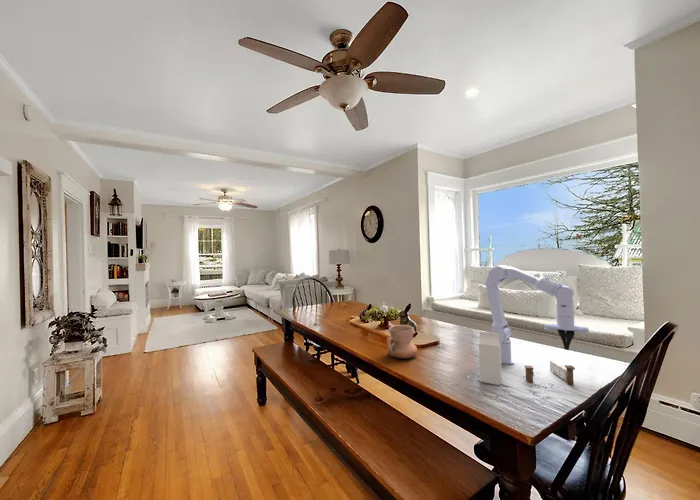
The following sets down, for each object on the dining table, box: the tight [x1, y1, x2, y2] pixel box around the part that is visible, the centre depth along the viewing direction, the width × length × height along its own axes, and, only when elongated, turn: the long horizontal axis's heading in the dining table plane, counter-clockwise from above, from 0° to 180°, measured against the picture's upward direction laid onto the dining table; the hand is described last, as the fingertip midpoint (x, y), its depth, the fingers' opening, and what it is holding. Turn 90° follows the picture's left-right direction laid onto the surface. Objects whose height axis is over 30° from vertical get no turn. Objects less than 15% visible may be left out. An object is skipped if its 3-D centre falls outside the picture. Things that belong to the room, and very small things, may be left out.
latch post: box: [524, 364, 535, 383], centre depth 117 cm, size 2×2×6 cm
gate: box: [549, 360, 567, 382], centre depth 120 cm, size 10×1×4 cm, turn 175°
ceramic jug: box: [386, 324, 418, 360], centre depth 149 cm, size 18×14×14 cm
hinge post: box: [564, 364, 576, 386], centre depth 113 cm, size 2×2×7 cm
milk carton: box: [478, 331, 503, 386], centre depth 119 cm, size 7×7×19 cm
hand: (566, 349), depth 122 cm, fingers closed
